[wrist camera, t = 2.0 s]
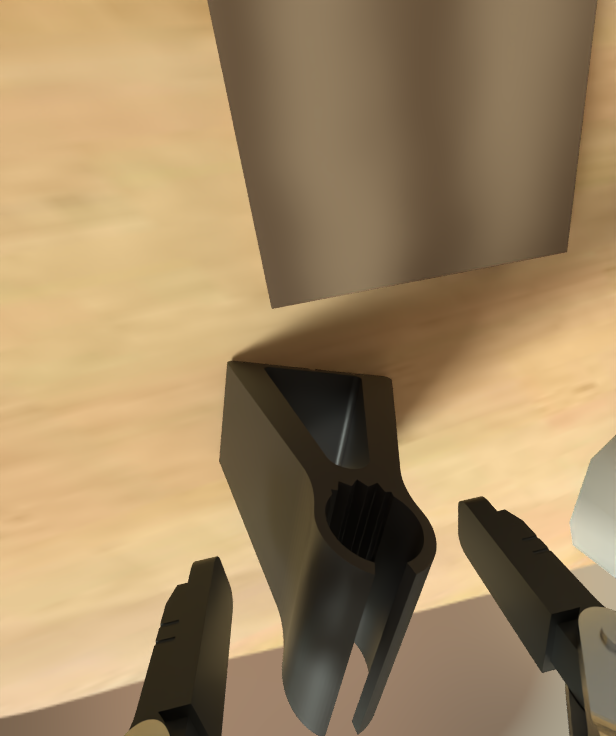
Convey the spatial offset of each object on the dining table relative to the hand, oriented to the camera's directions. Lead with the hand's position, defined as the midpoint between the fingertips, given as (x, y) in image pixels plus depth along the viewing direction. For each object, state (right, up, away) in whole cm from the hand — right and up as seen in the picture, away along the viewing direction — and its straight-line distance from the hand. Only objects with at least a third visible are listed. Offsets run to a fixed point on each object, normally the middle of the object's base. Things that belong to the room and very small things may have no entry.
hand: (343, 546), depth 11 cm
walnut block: (+2, +17, +3) cm, 17 cm away
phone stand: (-1, +3, +8) cm, 9 cm away
